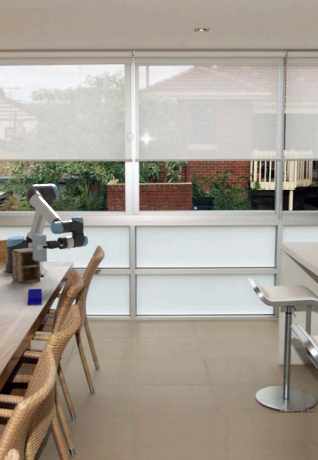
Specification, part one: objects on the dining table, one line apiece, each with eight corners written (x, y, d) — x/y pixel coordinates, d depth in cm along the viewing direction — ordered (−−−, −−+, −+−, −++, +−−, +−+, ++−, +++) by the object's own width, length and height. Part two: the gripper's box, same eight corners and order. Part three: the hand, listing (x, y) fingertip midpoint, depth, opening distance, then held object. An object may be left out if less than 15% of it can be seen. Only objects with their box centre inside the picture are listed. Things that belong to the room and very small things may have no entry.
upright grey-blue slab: (31, 259, 365) (30, 234, 363) (38, 259, 368) (38, 233, 366) (39, 262, 357) (39, 235, 355) (46, 261, 360) (46, 235, 358)
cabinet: (12, 280, 379) (11, 249, 376) (31, 277, 388) (30, 247, 385) (21, 284, 370) (20, 252, 367) (41, 280, 379) (40, 249, 376)
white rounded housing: (44, 277, 391) (38, 262, 389) (37, 279, 390) (31, 265, 389) (47, 271, 407) (41, 258, 406) (40, 274, 407) (35, 260, 405)
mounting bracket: (41, 305, 321) (41, 294, 320) (27, 305, 319) (27, 294, 319) (42, 297, 338) (41, 286, 337) (29, 297, 337) (28, 287, 336)
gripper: (74, 251, 365) (42, 255, 351) (55, 246, 382) (24, 250, 368) (74, 238, 364) (42, 242, 350) (55, 234, 381) (23, 238, 367)
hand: (33, 246), depth 359 cm, fingers closed on upright grey-blue slab, 10 cm apart
